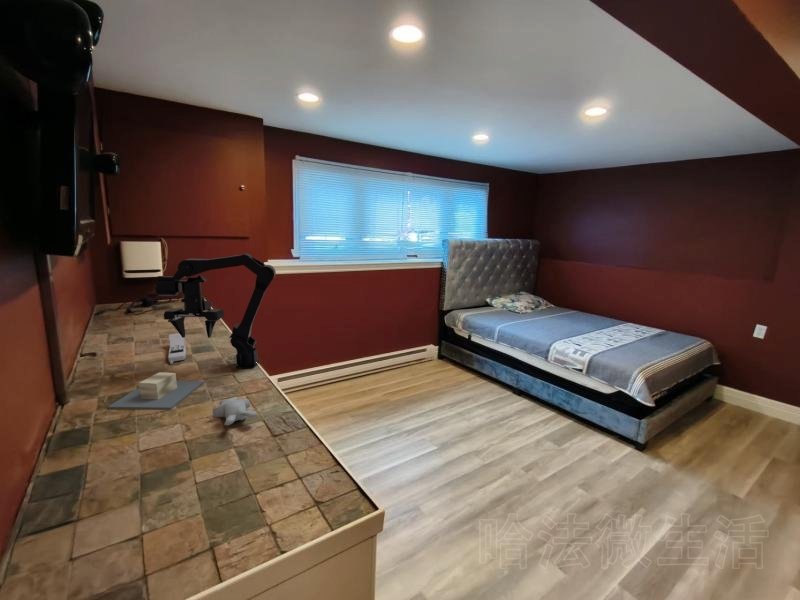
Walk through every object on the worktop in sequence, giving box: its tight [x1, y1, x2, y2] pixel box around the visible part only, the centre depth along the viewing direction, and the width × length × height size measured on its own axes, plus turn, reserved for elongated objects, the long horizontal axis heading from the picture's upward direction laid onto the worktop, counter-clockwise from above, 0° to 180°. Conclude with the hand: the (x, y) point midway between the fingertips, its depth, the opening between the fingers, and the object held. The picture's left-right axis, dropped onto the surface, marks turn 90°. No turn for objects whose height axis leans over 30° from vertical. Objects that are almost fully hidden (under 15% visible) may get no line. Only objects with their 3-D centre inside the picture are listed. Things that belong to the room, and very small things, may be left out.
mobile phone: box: [167, 332, 187, 365], centre depth 147 cm, size 6×6×25 cm
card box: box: [138, 371, 178, 399], centre depth 112 cm, size 8×6×5 cm
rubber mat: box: [107, 380, 205, 410], centre depth 112 cm, size 18×18×1 cm
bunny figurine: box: [212, 396, 258, 426], centre depth 98 cm, size 10×5×15 cm
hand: (196, 337), depth 130 cm, fingers open, 9 cm apart
